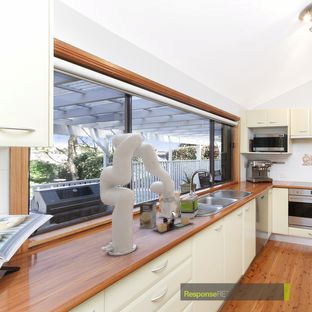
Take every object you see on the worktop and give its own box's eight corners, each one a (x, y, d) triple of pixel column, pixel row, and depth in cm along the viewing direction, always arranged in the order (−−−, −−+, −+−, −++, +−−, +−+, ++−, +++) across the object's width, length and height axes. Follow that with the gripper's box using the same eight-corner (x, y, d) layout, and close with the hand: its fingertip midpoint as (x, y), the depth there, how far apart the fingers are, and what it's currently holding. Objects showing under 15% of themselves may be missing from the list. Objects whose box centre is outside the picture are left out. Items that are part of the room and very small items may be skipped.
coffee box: (139, 228, 144) (139, 204, 144) (144, 225, 151) (144, 202, 151) (152, 228, 143) (152, 204, 143) (156, 225, 150) (156, 202, 150)
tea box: (186, 213, 183) (186, 195, 183) (198, 213, 182) (198, 195, 182) (180, 218, 168) (180, 199, 168) (193, 218, 167) (193, 199, 167)
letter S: (167, 230, 139) (167, 223, 139) (164, 228, 142) (164, 222, 142) (173, 228, 143) (173, 222, 143) (169, 227, 145) (169, 221, 145)
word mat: (161, 234, 132) (161, 227, 132) (152, 231, 138) (152, 224, 138) (194, 224, 153) (194, 218, 153) (184, 221, 159) (184, 215, 159)
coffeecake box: (158, 217, 170) (158, 192, 170) (162, 215, 177) (162, 191, 177) (177, 217, 170) (177, 192, 170) (180, 215, 177) (180, 191, 177)
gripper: (155, 198, 145) (155, 226, 145) (171, 202, 134) (171, 231, 134) (165, 197, 151) (165, 223, 150) (181, 200, 140) (181, 228, 140)
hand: (168, 226), depth 142 cm, fingers open, 6 cm apart
